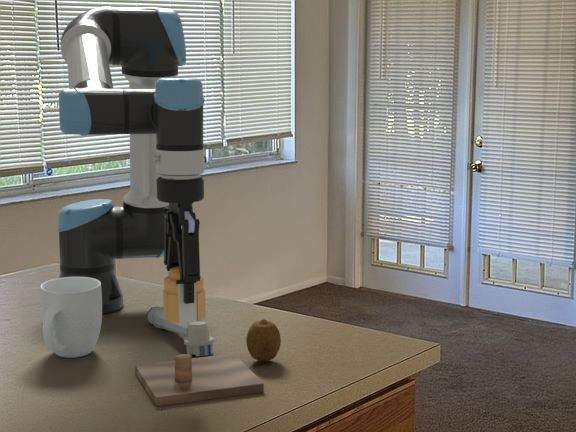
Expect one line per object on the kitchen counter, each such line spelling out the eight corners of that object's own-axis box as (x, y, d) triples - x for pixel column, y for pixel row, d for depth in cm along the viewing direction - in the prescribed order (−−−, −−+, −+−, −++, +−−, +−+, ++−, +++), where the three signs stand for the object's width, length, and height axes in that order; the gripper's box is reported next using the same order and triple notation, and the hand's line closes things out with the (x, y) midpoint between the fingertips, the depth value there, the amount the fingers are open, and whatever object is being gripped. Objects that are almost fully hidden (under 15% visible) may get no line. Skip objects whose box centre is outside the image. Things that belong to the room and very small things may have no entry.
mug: (76, 373, 155) (73, 301, 153) (20, 366, 158) (16, 296, 155) (113, 344, 169) (111, 278, 167) (61, 339, 172) (58, 274, 169)
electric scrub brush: (166, 303, 185) (217, 317, 164) (168, 335, 186) (219, 353, 164) (142, 306, 183) (191, 321, 161) (145, 339, 183) (193, 358, 161)
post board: (135, 373, 155) (134, 342, 154) (233, 361, 161) (233, 332, 160) (156, 406, 140) (155, 373, 139) (263, 392, 147) (263, 360, 146)
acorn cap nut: (161, 314, 148) (159, 267, 146) (198, 310, 150) (197, 263, 148) (170, 324, 142) (169, 275, 140) (209, 320, 144) (208, 272, 143)
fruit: (253, 369, 157) (253, 326, 156) (241, 358, 163) (241, 316, 162) (286, 365, 160) (286, 322, 158) (272, 354, 165) (272, 313, 164)
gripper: (143, 169, 149) (146, 303, 153) (171, 184, 131) (174, 335, 135) (187, 168, 152) (188, 299, 156) (220, 182, 134) (221, 330, 138)
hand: (182, 315), depth 146 cm, fingers closed on acorn cap nut, 6 cm apart
